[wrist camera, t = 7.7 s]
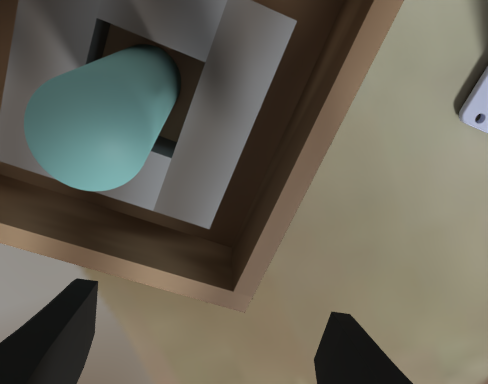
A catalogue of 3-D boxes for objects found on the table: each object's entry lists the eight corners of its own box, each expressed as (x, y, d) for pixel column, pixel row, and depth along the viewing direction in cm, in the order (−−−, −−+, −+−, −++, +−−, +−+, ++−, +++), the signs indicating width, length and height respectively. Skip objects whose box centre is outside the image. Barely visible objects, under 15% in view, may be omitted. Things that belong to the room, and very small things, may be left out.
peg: (188, 57, 18) (161, 95, 10) (172, 122, 20) (135, 203, 11) (118, 34, 18) (30, 55, 10) (106, 103, 19) (18, 173, 11)
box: (374, -21, 18) (419, -31, 14) (240, 260, 24) (244, 312, 20) (1, -207, 15) (-84, -291, 11) (-48, 170, 21) (-114, 210, 17)
